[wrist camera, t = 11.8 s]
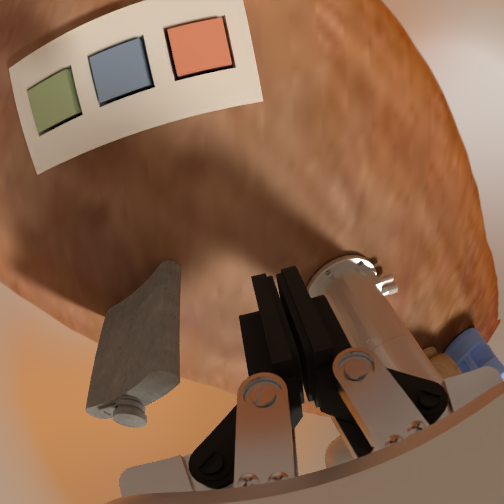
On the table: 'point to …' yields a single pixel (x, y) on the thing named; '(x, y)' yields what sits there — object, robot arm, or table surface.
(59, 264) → the table surface
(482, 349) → the water jug
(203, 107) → the button board
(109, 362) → the hip flask
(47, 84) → the olive green button
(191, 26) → the terracotta button
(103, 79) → the slate blue button
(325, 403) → the robot arm
